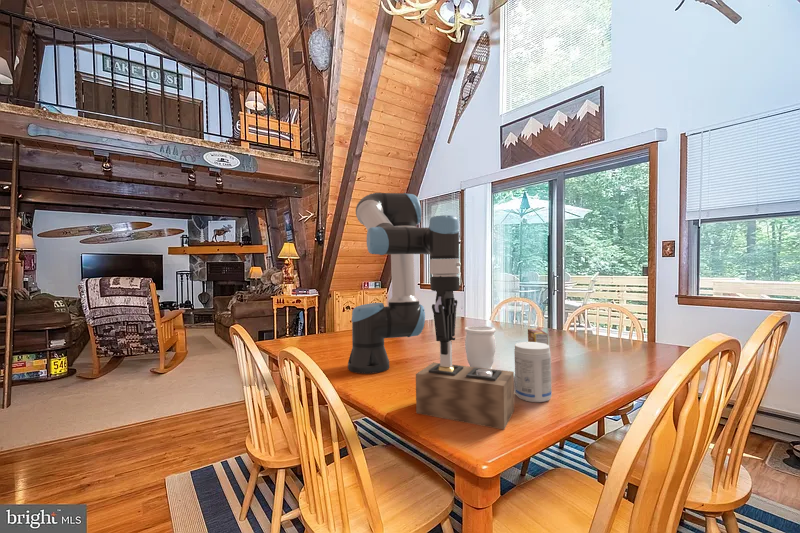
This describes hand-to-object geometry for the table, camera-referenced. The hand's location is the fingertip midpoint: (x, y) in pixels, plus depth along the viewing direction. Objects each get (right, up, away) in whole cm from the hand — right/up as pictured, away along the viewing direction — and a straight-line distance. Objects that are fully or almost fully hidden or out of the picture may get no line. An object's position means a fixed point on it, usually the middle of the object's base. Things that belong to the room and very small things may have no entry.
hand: (446, 365), depth 97 cm
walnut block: (+5, -11, -2) cm, 12 cm away
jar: (+16, -11, +33) cm, 39 cm away
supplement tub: (+25, -11, +7) cm, 29 cm away
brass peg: (0, -10, 0) cm, 10 cm away
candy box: (+34, -11, +26) cm, 44 cm away
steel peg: (+9, -10, -4) cm, 14 cm away
